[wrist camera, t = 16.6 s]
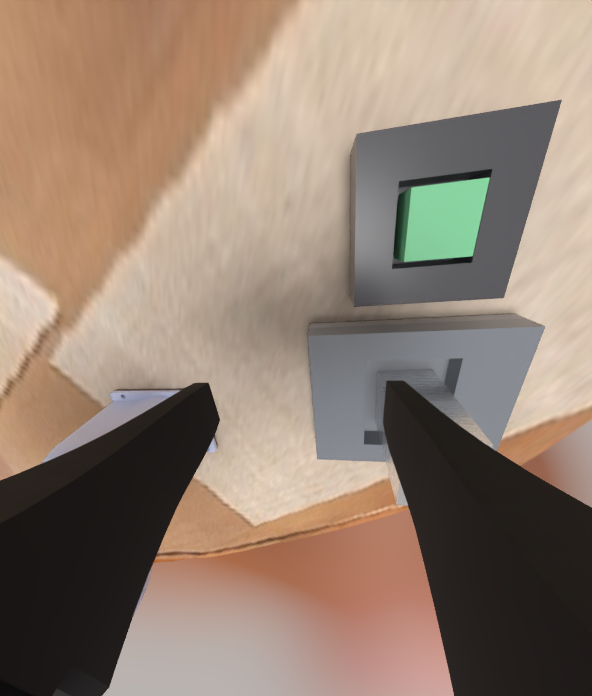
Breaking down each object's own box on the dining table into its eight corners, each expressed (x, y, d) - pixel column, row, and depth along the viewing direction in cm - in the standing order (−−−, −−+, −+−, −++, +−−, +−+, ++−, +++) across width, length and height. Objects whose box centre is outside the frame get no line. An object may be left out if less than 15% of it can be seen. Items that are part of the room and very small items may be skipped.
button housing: (349, 295, 16) (354, 306, 14) (350, 154, 13) (356, 134, 10) (472, 286, 15) (503, 298, 13) (508, 130, 12) (561, 99, 9)
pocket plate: (318, 437, 23) (317, 459, 21) (309, 323, 18) (307, 336, 16) (473, 441, 21) (490, 465, 19) (514, 313, 16) (545, 326, 13)
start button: (394, 258, 14) (404, 261, 12) (399, 194, 12) (411, 187, 10) (452, 253, 13) (472, 256, 11) (465, 186, 12) (489, 177, 10)
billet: (374, 420, 20) (396, 504, 14) (376, 370, 18) (403, 444, 12) (424, 420, 19) (471, 509, 13) (432, 369, 17) (493, 445, 11)
